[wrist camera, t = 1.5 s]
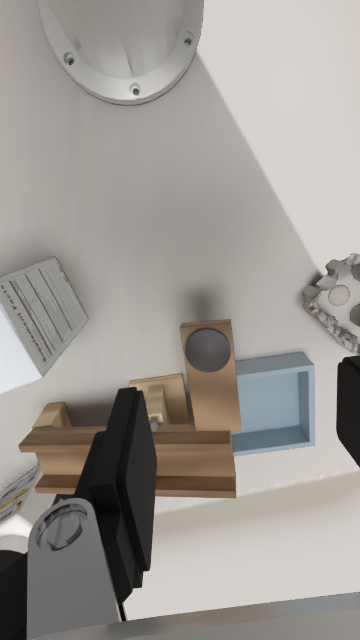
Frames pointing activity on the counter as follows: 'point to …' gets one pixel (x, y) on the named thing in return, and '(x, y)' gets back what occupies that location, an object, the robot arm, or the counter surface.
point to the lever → (167, 428)
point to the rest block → (53, 416)
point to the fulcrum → (164, 399)
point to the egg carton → (336, 299)
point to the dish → (275, 404)
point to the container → (22, 515)
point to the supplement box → (35, 322)
